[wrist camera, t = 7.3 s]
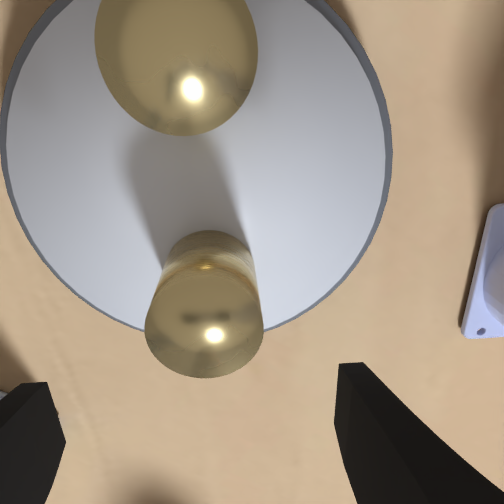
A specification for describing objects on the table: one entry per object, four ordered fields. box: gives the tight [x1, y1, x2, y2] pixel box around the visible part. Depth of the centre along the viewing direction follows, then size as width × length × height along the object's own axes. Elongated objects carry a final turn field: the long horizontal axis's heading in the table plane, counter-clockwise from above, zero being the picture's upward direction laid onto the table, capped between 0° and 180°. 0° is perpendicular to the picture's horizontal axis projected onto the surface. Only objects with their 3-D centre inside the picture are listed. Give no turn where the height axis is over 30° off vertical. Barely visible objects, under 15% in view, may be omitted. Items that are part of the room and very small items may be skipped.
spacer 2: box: [144, 230, 264, 378], centre depth 15 cm, size 4×4×4 cm
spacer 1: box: [94, 0, 258, 136], centre depth 11 cm, size 4×4×4 cm
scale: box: [0, 0, 393, 332], centre depth 16 cm, size 16×18×3 cm
